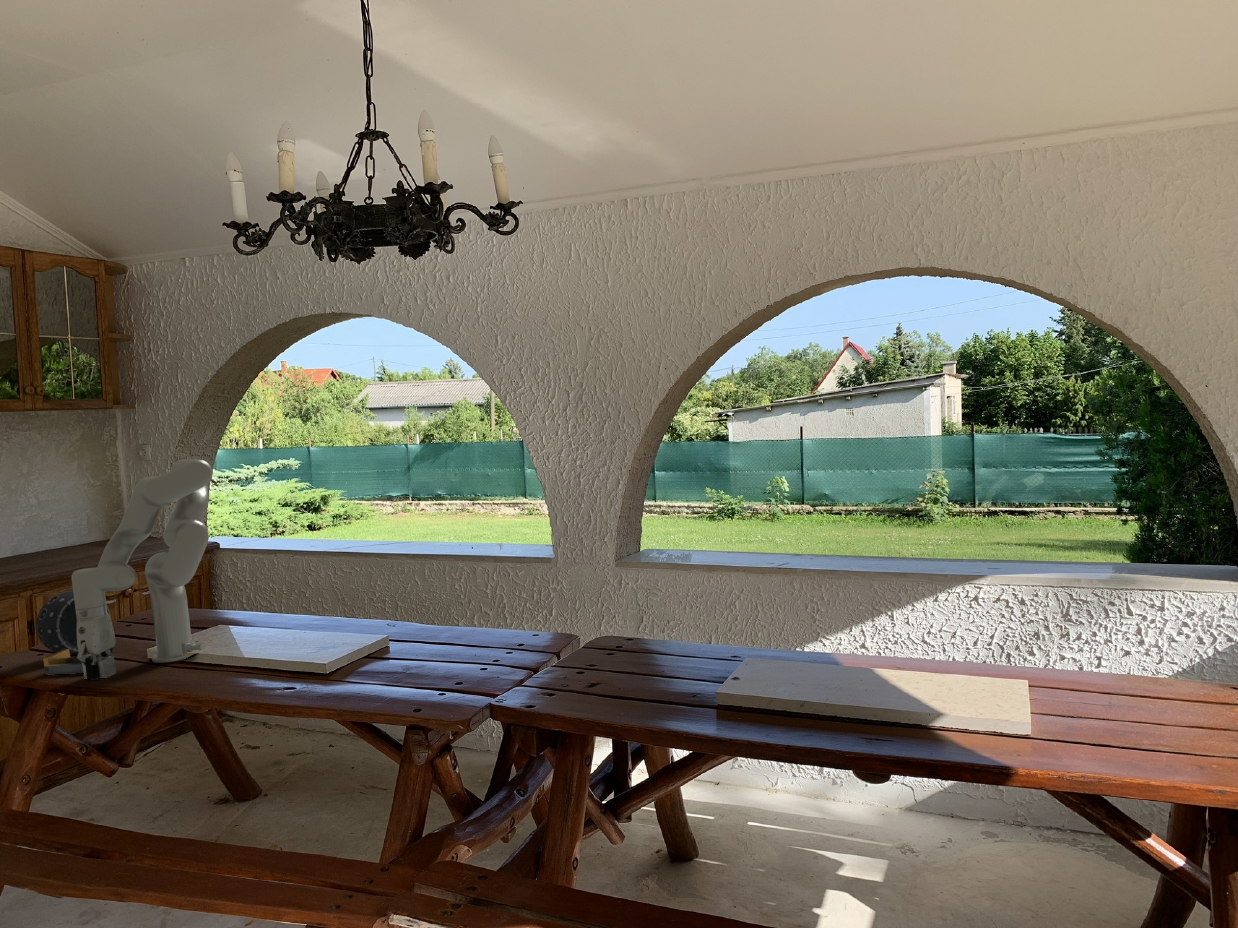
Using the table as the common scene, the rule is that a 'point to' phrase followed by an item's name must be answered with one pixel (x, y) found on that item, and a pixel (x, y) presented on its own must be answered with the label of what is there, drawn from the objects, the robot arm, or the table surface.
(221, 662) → the table surface
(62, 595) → the dark grey studded drum
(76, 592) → the robot arm
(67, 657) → the coupler bracket
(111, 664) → the grey cube
